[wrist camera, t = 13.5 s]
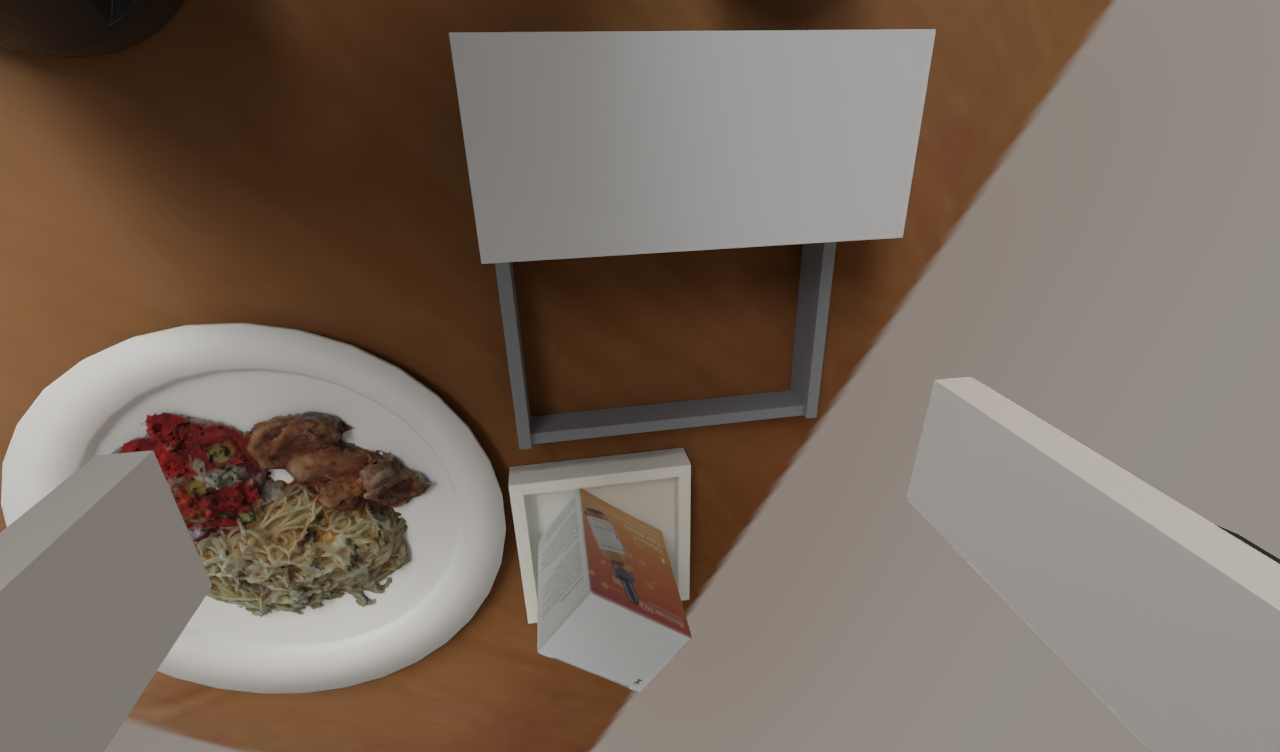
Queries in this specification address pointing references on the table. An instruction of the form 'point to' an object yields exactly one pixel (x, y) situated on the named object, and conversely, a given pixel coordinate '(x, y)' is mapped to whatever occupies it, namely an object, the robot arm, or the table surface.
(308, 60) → the table surface
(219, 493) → the plated food
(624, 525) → the small box
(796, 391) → the printer
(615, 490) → the tray
